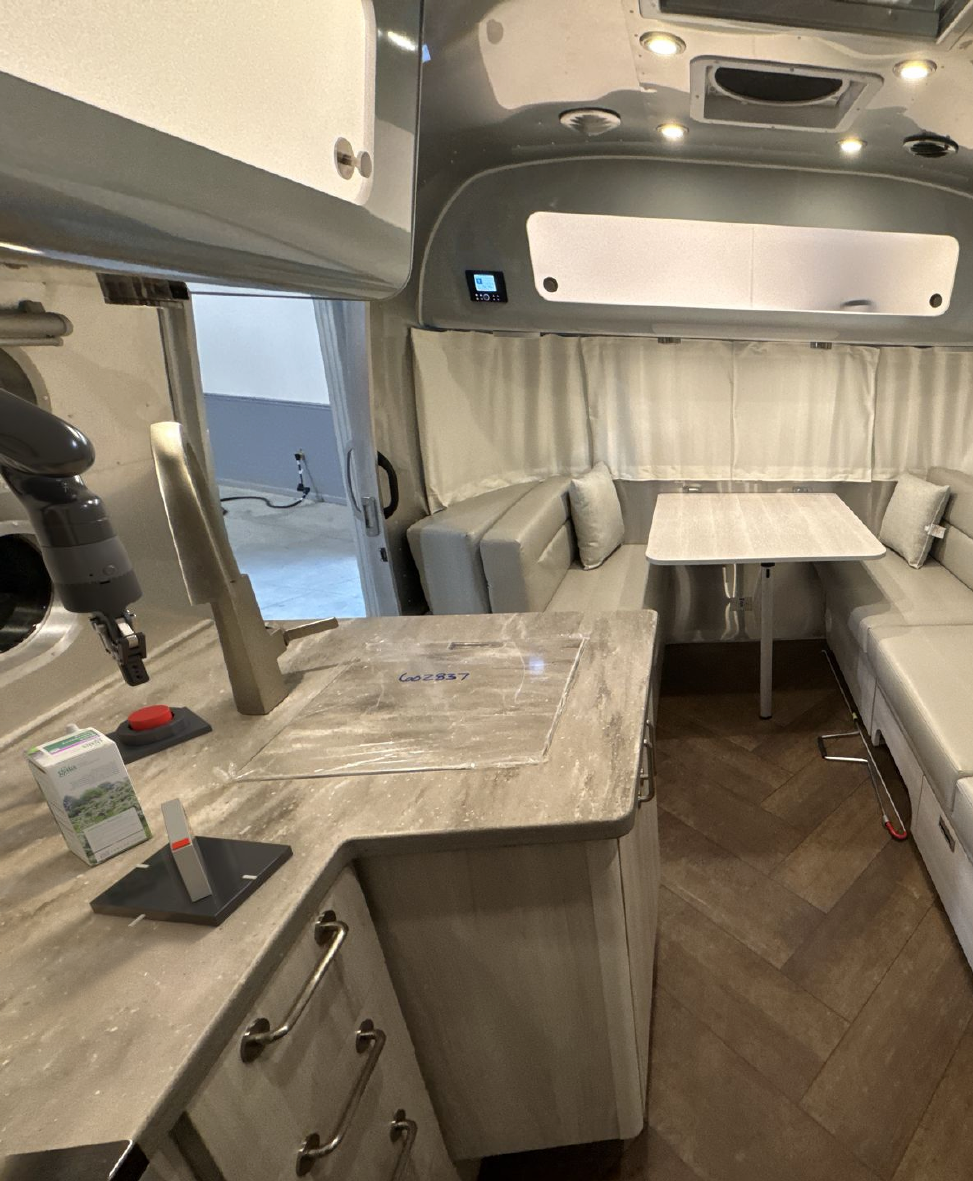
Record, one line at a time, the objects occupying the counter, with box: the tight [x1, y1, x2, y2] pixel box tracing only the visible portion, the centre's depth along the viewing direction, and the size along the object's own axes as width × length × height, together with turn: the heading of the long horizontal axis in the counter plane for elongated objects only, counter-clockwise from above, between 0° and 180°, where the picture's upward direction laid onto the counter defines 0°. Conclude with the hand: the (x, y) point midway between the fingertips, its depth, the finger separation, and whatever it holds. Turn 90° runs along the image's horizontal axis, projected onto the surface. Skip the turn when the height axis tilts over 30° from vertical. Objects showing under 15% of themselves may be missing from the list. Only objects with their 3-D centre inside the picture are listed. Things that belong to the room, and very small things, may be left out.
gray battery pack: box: [160, 797, 212, 902], centre depth 69 cm, size 10×2×7 cm, turn 47°
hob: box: [88, 825, 294, 928], centre depth 71 cm, size 14×14×2 cm
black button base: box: [104, 706, 214, 766], centre depth 94 cm, size 10×9×3 cm
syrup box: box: [22, 726, 154, 868], centre depth 73 cm, size 6×6×14 cm
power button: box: [127, 704, 172, 731], centre depth 93 cm, size 4×4×2 cm
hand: (138, 682), depth 91 cm, fingers closed
